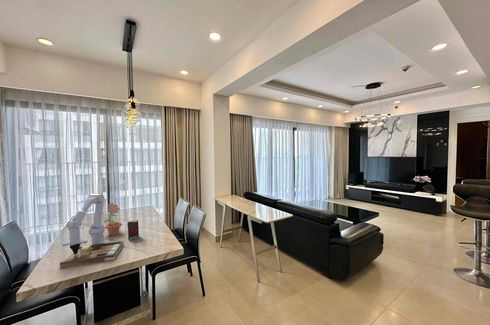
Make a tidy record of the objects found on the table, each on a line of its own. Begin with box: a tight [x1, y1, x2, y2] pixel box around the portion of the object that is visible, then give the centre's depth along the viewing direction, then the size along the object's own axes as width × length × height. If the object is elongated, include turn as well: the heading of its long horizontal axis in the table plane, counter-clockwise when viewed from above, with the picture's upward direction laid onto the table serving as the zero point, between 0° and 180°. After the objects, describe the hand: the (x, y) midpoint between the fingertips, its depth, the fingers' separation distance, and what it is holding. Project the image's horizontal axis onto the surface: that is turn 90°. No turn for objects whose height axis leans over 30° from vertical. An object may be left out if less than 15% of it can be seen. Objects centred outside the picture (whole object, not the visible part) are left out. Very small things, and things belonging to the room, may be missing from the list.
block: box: [80, 244, 92, 256], centre depth 148 cm, size 5×5×5 cm
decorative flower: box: [104, 202, 123, 236], centre depth 188 cm, size 15×14×30 cm
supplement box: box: [127, 219, 140, 241], centre depth 179 cm, size 9×5×16 cm, turn 120°
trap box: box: [59, 240, 125, 268], centre depth 150 cm, size 24×32×4 cm
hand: (75, 253), depth 146 cm, fingers closed
